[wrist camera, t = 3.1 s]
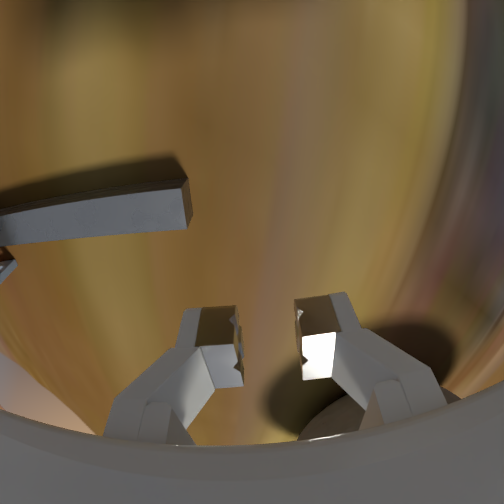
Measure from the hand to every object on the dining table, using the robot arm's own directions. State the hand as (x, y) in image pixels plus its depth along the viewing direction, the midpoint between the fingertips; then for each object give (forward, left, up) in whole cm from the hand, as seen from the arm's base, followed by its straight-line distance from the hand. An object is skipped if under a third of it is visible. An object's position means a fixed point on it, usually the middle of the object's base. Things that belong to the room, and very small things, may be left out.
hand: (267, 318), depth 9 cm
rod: (+17, 0, -15) cm, 23 cm away
